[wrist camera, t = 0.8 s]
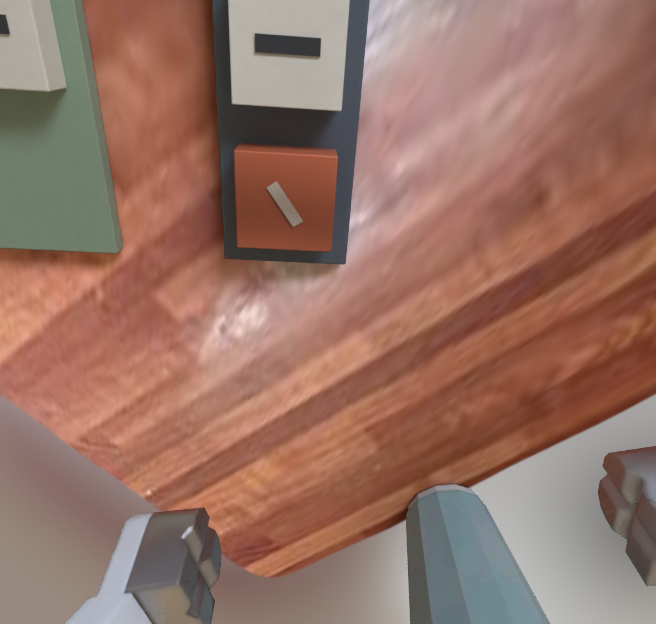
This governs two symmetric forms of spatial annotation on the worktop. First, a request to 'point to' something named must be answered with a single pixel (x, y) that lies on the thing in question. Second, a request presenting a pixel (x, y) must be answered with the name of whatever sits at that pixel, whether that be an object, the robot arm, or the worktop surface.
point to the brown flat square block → (285, 196)
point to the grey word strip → (289, 136)
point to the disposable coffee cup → (463, 564)
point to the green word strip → (52, 133)
